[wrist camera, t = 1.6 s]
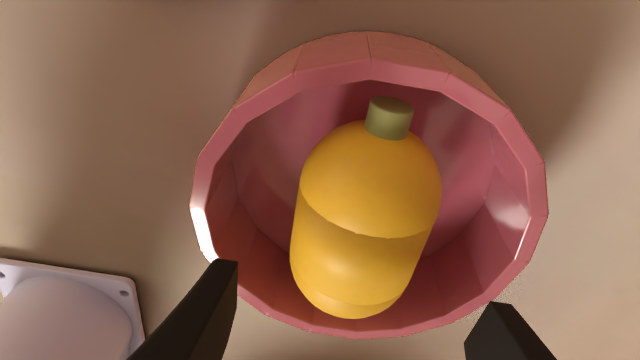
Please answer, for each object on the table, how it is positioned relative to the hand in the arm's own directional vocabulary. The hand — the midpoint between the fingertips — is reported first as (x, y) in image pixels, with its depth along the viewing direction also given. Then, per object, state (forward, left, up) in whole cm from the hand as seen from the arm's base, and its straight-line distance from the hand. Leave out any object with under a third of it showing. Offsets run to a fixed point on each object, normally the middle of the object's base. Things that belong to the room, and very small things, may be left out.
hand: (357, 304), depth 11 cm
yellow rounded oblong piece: (0, 0, -6) cm, 7 cm away
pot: (0, 0, -7) cm, 7 cm away
